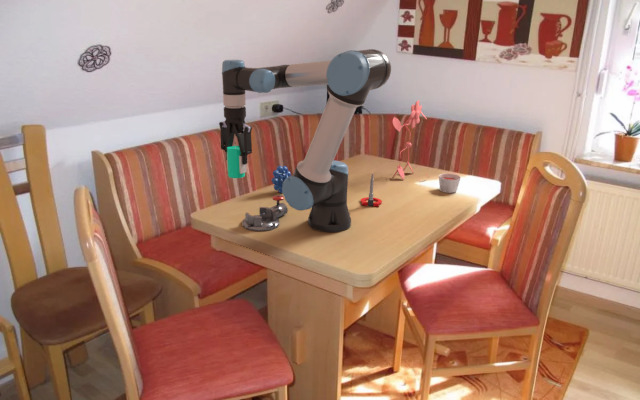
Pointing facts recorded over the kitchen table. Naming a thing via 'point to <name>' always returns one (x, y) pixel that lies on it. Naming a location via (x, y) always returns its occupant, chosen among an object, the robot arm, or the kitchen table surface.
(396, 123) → the figurine
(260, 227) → the fitting
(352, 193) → the kitchen table surface
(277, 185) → the grapes
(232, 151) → the candle
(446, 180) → the candle
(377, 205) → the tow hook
